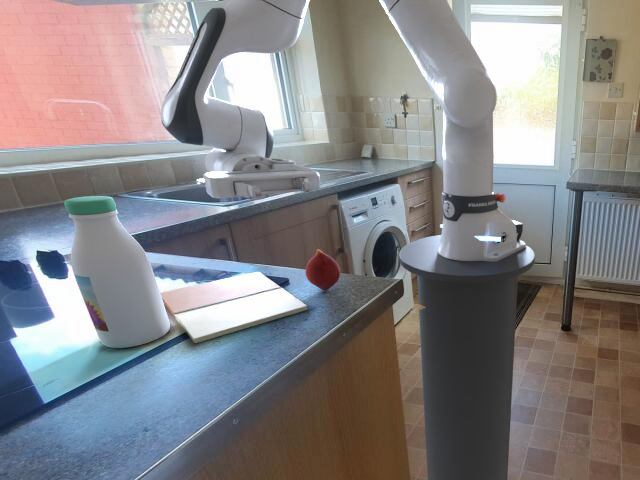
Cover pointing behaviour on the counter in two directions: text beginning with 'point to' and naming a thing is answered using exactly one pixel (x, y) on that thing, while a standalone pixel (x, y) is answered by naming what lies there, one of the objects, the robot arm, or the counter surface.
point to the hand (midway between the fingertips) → (283, 189)
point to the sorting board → (229, 305)
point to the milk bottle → (114, 276)
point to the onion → (322, 271)
